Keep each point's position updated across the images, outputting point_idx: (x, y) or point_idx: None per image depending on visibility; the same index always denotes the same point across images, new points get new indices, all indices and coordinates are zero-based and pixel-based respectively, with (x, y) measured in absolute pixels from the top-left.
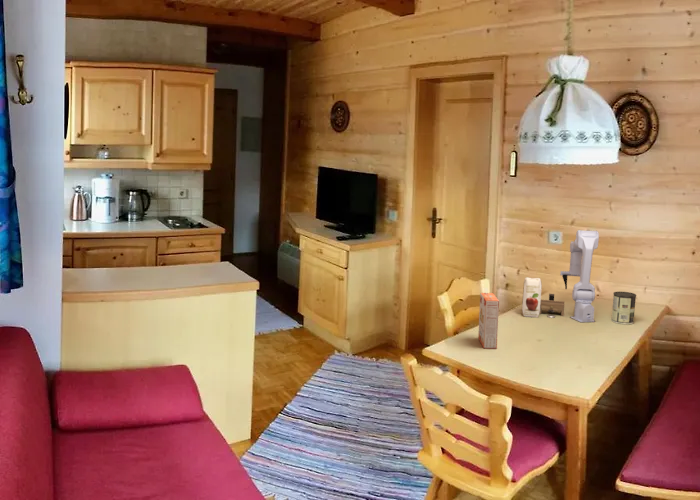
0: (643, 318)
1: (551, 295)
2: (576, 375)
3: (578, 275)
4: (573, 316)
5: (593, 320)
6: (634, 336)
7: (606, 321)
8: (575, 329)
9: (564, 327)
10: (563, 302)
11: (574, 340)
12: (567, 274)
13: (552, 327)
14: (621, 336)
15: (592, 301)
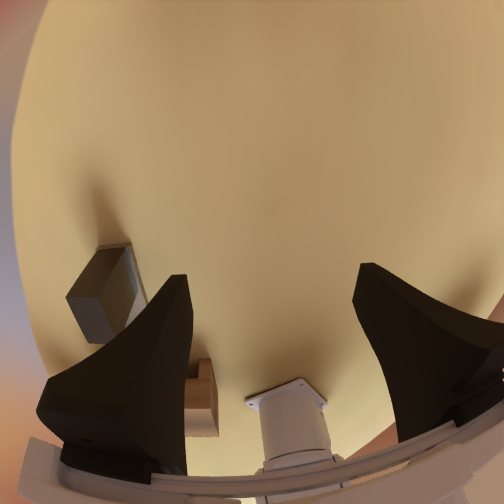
0: (495, 287)
1: (101, 343)
2: (254, 498)
3: (391, 465)
4: (257, 399)
5: (323, 405)
6: (379, 430)
7: (368, 382)
8: (259, 451)
9: (232, 450)
10: (209, 419)
11: (254, 473)
12: (167, 499)
13: (204, 454)
14: (352, 441)
15: (333, 459)
